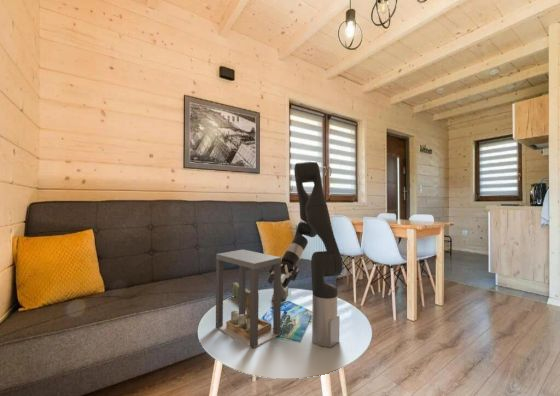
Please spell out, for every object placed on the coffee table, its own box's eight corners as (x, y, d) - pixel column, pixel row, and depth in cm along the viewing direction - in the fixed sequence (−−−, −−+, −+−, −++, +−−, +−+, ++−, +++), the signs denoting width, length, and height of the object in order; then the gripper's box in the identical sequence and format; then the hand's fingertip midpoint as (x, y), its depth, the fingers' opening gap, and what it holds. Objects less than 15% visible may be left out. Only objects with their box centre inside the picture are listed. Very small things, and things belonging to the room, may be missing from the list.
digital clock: (278, 290, 157) (278, 272, 157) (292, 292, 154) (293, 273, 154) (266, 300, 142) (266, 279, 142) (282, 303, 139) (282, 282, 139)
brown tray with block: (271, 329, 110) (271, 294, 110) (250, 340, 101) (250, 302, 101) (247, 318, 119) (247, 286, 119) (226, 327, 111) (226, 293, 111)
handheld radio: (238, 293, 152) (260, 309, 131) (232, 295, 150) (254, 311, 129) (237, 281, 152) (260, 295, 131) (232, 283, 150) (253, 297, 129)
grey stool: (280, 334, 107) (281, 257, 107) (253, 348, 97) (254, 263, 97) (242, 316, 123) (242, 249, 123) (215, 327, 112) (216, 254, 112)
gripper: (278, 248, 133) (260, 277, 125) (301, 252, 124) (284, 283, 115) (285, 257, 137) (269, 286, 129) (308, 262, 128) (292, 293, 119)
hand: (276, 284), depth 122 cm, fingers open, 8 cm apart
